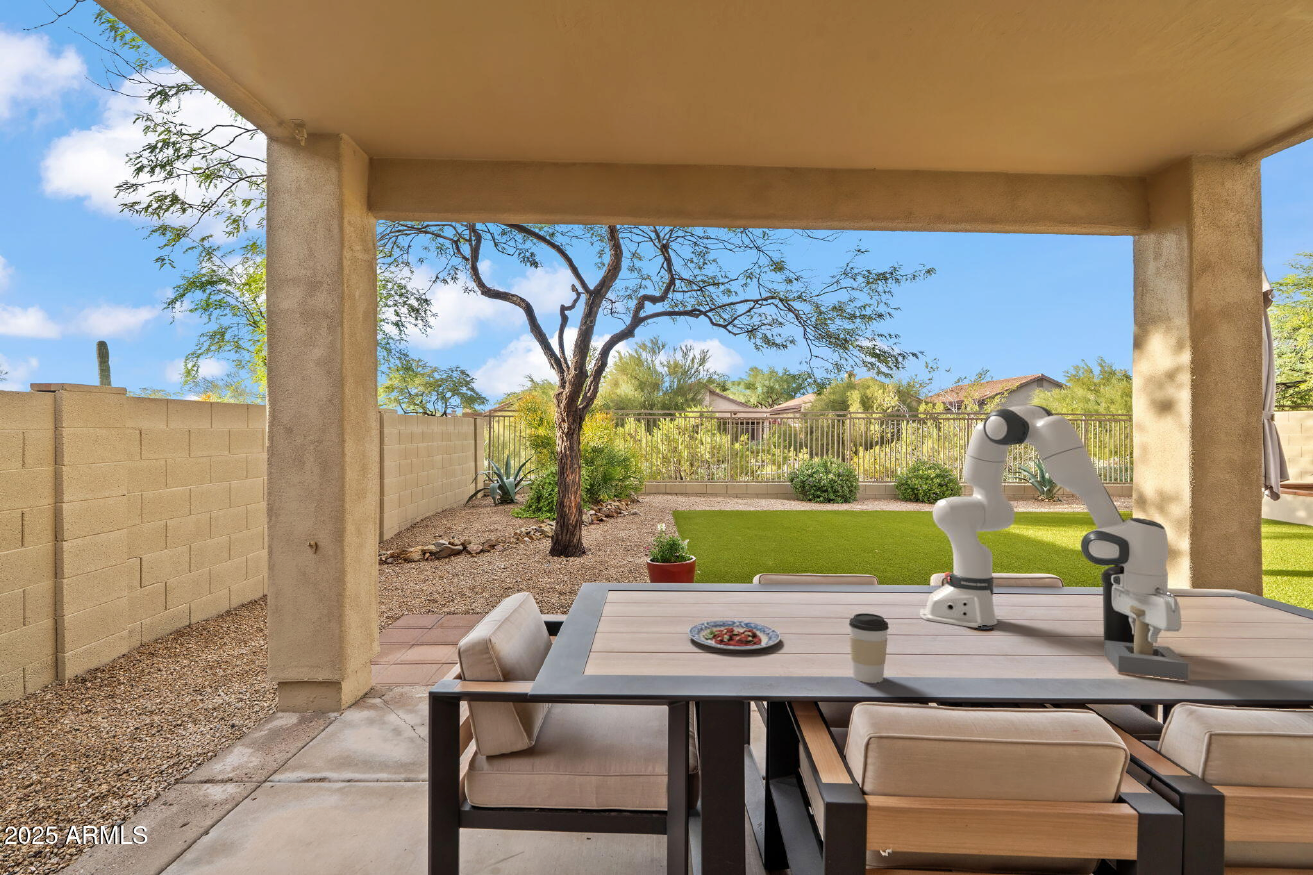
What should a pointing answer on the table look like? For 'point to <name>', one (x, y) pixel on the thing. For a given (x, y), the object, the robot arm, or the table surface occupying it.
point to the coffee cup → (868, 647)
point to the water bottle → (1114, 611)
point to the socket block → (1146, 661)
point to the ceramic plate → (734, 634)
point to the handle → (1141, 634)
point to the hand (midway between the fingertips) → (1144, 638)
